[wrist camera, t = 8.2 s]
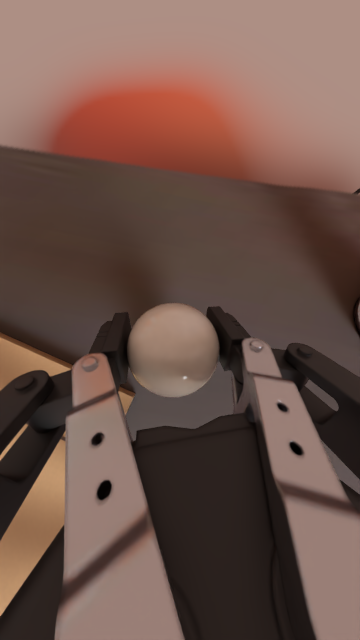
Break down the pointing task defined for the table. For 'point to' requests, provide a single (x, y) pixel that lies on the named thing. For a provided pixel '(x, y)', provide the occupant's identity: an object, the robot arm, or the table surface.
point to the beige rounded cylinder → (173, 350)
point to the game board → (48, 490)
